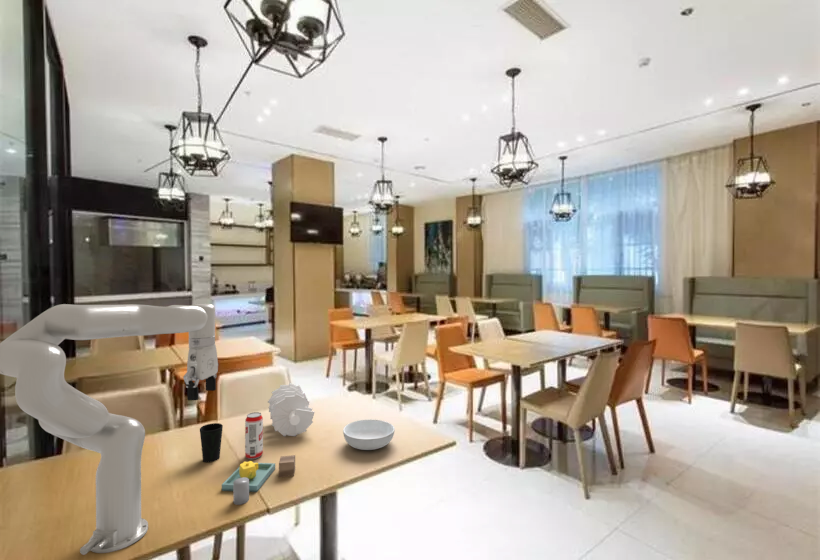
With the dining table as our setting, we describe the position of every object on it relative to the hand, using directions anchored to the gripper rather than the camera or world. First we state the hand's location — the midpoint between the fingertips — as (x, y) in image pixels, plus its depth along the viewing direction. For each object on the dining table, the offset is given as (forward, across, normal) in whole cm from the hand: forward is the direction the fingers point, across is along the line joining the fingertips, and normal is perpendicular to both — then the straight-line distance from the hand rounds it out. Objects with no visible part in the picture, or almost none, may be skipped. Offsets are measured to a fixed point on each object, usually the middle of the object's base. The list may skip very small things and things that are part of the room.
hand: (202, 394), depth 125 cm
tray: (+30, +6, -13) cm, 34 cm away
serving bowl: (+31, +35, -49) cm, 68 cm away
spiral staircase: (+31, +49, -11) cm, 59 cm away
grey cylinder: (+30, -6, -16) cm, 35 cm away
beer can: (+31, +22, -7) cm, 38 cm away
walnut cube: (+30, +11, -24) cm, 40 cm away
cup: (+31, +19, +8) cm, 37 cm away
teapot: (+30, +6, -13) cm, 33 cm away
